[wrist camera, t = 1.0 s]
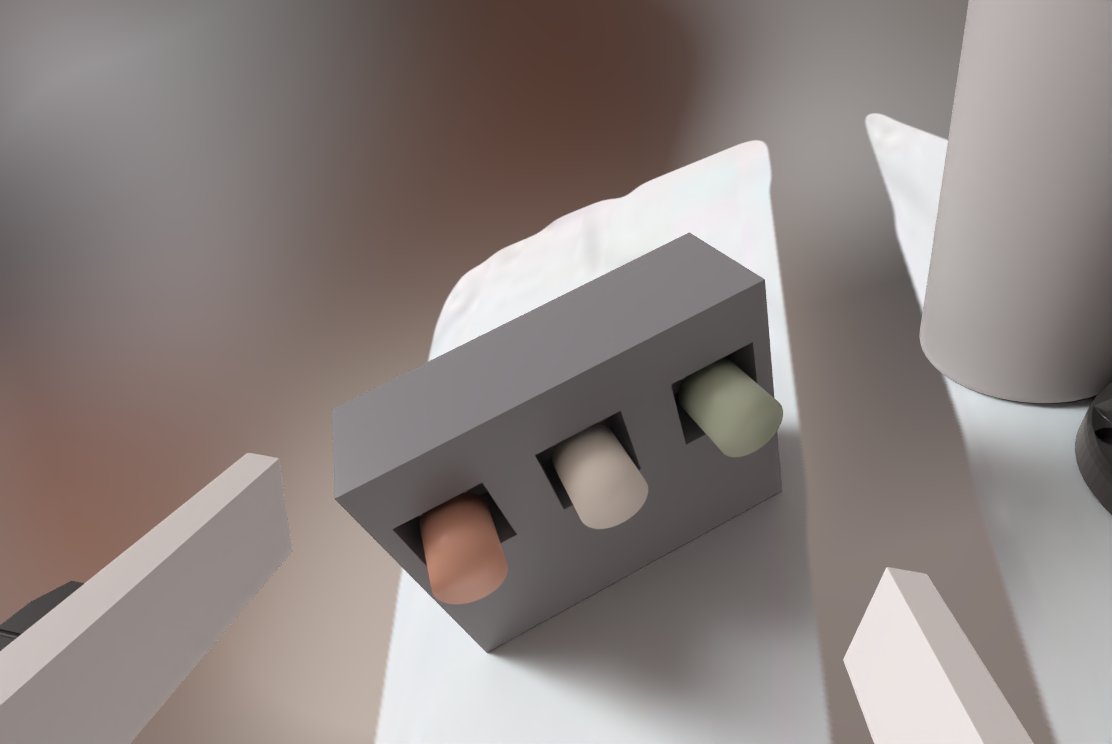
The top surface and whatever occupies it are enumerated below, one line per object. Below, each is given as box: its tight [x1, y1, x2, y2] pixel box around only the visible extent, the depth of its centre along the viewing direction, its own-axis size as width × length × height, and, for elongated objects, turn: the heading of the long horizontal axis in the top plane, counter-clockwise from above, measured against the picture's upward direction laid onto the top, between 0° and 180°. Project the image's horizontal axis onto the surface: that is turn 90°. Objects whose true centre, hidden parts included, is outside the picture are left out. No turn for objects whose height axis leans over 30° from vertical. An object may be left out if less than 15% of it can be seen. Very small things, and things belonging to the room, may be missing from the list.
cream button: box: [552, 424, 648, 529], centre depth 29 cm, size 4×4×4 cm
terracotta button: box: [419, 492, 508, 604], centre depth 28 cm, size 4×4×4 cm
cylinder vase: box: [920, 0, 1112, 403], centre depth 33 cm, size 12×12×25 cm
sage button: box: [678, 358, 783, 457], centre depth 29 cm, size 4×4×4 cm
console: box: [332, 233, 782, 653], centre depth 34 cm, size 23×7×18 cm, turn 110°
